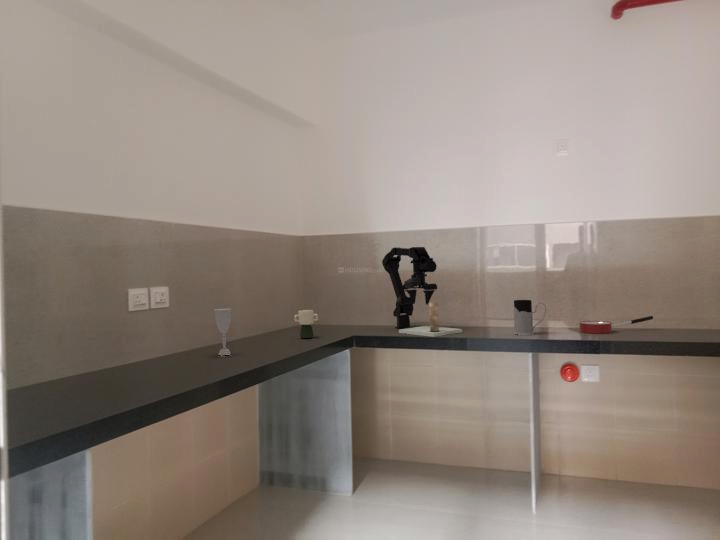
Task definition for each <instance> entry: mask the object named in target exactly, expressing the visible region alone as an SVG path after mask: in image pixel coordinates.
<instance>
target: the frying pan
mask: <svg viewBox="0 0 720 540" xmlns="http://www.w3.org/2000/svg"><path fill="white" fill-rule="evenodd" d="M653 319H654V317H653V315H649V316H645V317H641V318H637V319H636V318H635V319H631V320H630V321H629V320H628V321H625V322H620V323H616V324H615V323H614V324H612V322H611V321H605V320H583V321H579V323H578V324H579V325H578V326H579V332H580V333H581V334H589V335H605V334H606V335H607V334H611V333H612V332H613V330H612V329H613V328H617V327H621V326H626V325H630V324H631V325H633V324H637V323H642V322H646V321H651V320H653Z"/></svg>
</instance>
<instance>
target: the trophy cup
mask: <svg viewBox="0 0 720 540" xmlns="http://www.w3.org/2000/svg"><path fill="white" fill-rule="evenodd" d="M314 311H315V310H313V309H303V310H302V309H300V310H298V313H297V314H294V317H293V318H294V322H295V323H298V324H299V325H300V332H299V337H300V338H302V339H311V338H313V337H314V330H313V326H312V325H314V322H317V321H319V315H318V313H314ZM297 317H298V319H297ZM310 337H311V338H310Z"/></svg>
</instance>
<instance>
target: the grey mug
mask: <svg viewBox="0 0 720 540" xmlns="http://www.w3.org/2000/svg"><path fill="white" fill-rule="evenodd" d="M540 304H542V305H544V314H543V316H542V318H541V320H539V322H537V323H536V324H535V325H533V323H534V322H533V314H535V313H536V312H537V307H538V306H539V305H540ZM532 307H533V306H532V300H531V299H516V300H513V325H514V332H513V335H514V334H518V335H517V336H522V335H527V336H533V335H532V334H534V335H535V333H534V329H535V328H536V326H537V325H539V324H540V323H541V322H542V321H543V320H544V318H545V317H546V314H547V307H546V304H545V303H543V302H538V303H537V304H536V305H535V311H532V310H533V308H532Z"/></svg>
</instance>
